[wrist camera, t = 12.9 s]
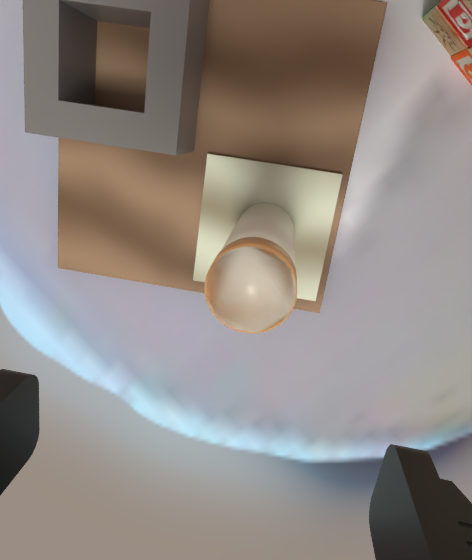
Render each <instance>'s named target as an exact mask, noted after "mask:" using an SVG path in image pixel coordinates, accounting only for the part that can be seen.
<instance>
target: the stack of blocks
mask: <svg viewBox="0 0 472 560" xmlns="http://www.w3.org/2000/svg"><path fill="white" fill-rule="evenodd" d="M422 19H423V21H424V22H425V23H426V25H427V26H428V27H429V28H430V30H431V31H432V32H433V34H434V35H435V36H436V38H437V39H438V40H439V41H440V43H441V44H442V45H443V47H444V48H445V49H446V51H447V52H448V53H449V54H450V56H451V59H452V61H453V62H454V63H455V65H456V66H457V67H458V68H459V70H460V71H461V72H462V74H463V75H464V76H465V77H466V79H467V80H468V81H469V82H470V84H471V85H472V0H440V1H439V2H438V3H437V4H436V5H435V6H434V7H433V8H432V9H431V10H430V11H428V12H427V13H426V14H425V15H424V16H423V17H422Z"/></svg>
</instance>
